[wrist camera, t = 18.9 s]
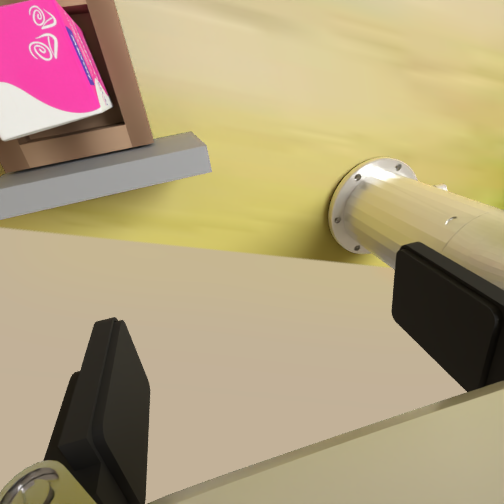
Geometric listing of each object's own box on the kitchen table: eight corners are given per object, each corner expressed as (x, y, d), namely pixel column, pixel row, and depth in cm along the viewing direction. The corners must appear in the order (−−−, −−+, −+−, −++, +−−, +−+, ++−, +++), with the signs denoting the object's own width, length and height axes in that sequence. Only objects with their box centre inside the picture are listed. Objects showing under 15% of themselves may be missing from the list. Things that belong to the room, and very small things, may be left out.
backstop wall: (191, 131, 32) (206, 145, 25) (195, 152, 33) (211, 171, 26) (15, 167, 29) (-30, 195, 22) (26, 188, 30) (-14, 222, 23)
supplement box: (117, 106, 29) (104, 116, 19) (48, 125, 28) (-4, 146, 18) (85, 28, 26) (51, -9, 16) (7, 46, 25) (-82, 20, 15)
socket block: (109, -17, 26) (103, -33, 22) (152, 136, 31) (153, 143, 28) (-57, 2, 24) (-91, -12, 20) (21, 163, 29) (5, 173, 26)
